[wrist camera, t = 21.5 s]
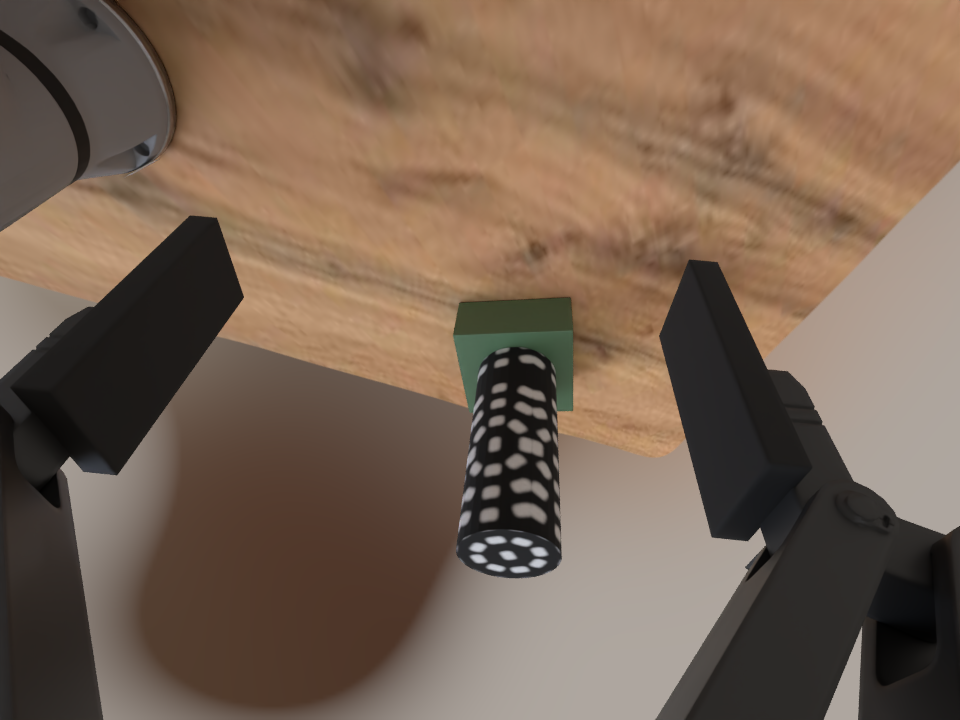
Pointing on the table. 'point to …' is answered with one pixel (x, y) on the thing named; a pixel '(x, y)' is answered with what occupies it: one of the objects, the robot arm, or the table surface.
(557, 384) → the block
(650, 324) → the table surface
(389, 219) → the table surface
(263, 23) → the table surface
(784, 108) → the table surface
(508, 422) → the spotted tube
